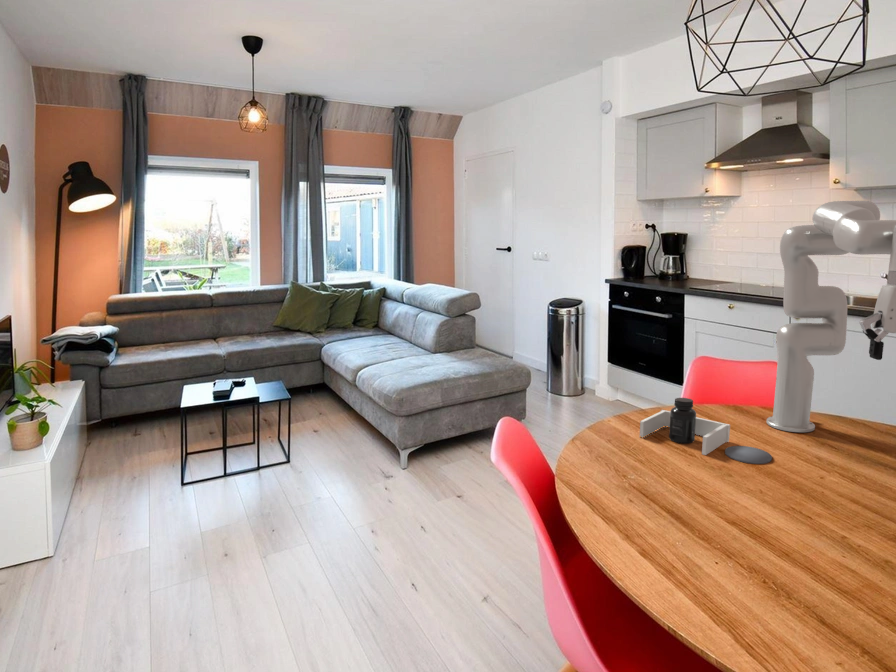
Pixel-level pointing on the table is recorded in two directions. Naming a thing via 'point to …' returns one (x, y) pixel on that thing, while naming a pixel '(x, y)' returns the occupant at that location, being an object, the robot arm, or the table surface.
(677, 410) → the supplement bottle
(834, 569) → the table surface
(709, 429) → the white u-shaped bracket
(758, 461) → the mat
